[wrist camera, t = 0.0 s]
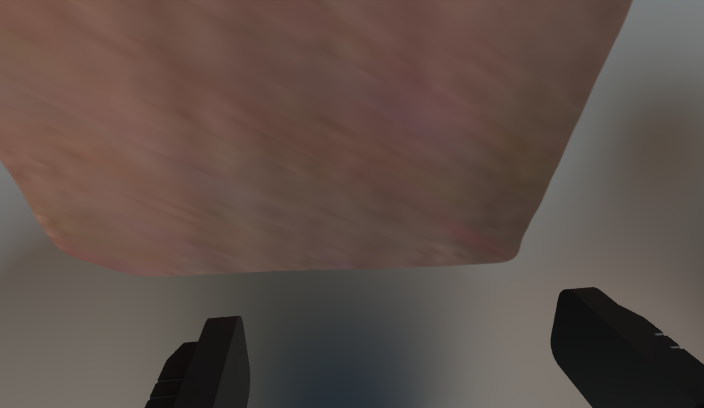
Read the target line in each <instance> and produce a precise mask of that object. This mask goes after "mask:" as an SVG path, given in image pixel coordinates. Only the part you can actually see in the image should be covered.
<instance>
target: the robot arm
mask: <svg viewBox="0 0 704 408" xmlns="http://www.w3.org/2000/svg"><path fill="white" fill-rule="evenodd" d="M551 349H552V353H553V356H554V358H555V360H556V362H557V364H558V365H559V366H560V368H561V369H562V370H563V371H564V373H565V374H566V375H567V376H568V378H569V379H570V380H571V381H572V383H573V384H574V385H575V386H576V388H577V389H578V390H579V391H580V393H581V394H582V395H583V396H584V398H585V399H586V400H587V401H588V403H589V404H590V405H591V406H592V408H704V364H702V363H701V362H700V361H699V360H697V359H696V358H695V357H694V356H692V355H691V354H690V353H688V352H687V351H686V350H685V349H680V347H679V345H678V344H677V343H676V342H674V341H673V340H672V339H671V338H669V337H668V336H664V335H663V332H662V331H661V330H659V329H658V328H656V327H655V326H654V325H653V324H652V323H650V322H649V321H648V320H646V319H645V318H644V317H642V316H640V315H638V314H636V313H634V312H632V311H630V310H628V309H626V308H624V307H622V306H620V305H618V304H617V303H616V302H614V301H613V300H612V299H611V298H609V297H608V296H607V295H606V294H604V293H603V292H602V291H601V290H599V289H598V288H595V287H589V288H577V289H565V290H563V291H562V292H561V293H560V294H559V297H558V302H557V307H556V312H555V318H554V324H553V328H552V334H551ZM249 391H250V366H249V360H248V353H247V346H246V339H245V333H244V326H243V321H242V318H241V316H232V317H219V318H208V319H207V321H206V323H205V325H204V328H203V330H202V333H201V336H200V338H199V341H198V342H187V343H183V344H182V345H181V346H180V347H179V348H178V349H177V350H176V351H175V352H174V353H173V354H172V355H171V356H170V357H169V358H168V360H167V361H166V363H165V365H164V367H163V369H162V372H161V374H160V376H159V378H158V383H156V384H155V387H154V389H153V391H152V393H151V395H150V400H149V401H148V402H147V404H146V406H145V408H247V404H248V398H249Z"/></svg>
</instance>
